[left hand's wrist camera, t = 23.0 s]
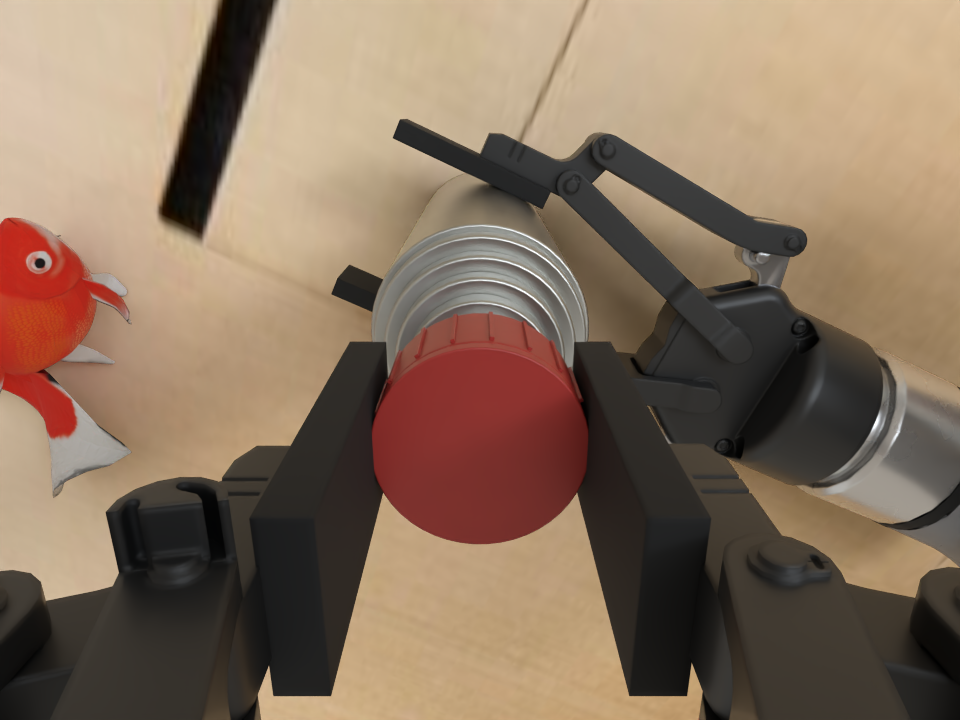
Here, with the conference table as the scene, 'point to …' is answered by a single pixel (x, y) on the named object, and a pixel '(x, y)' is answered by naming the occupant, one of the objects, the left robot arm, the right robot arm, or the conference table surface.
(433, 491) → the cap
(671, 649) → the left robot arm
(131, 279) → the conference table surface
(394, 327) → the bottle
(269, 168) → the conference table surface
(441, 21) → the conference table surface
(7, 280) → the fish
